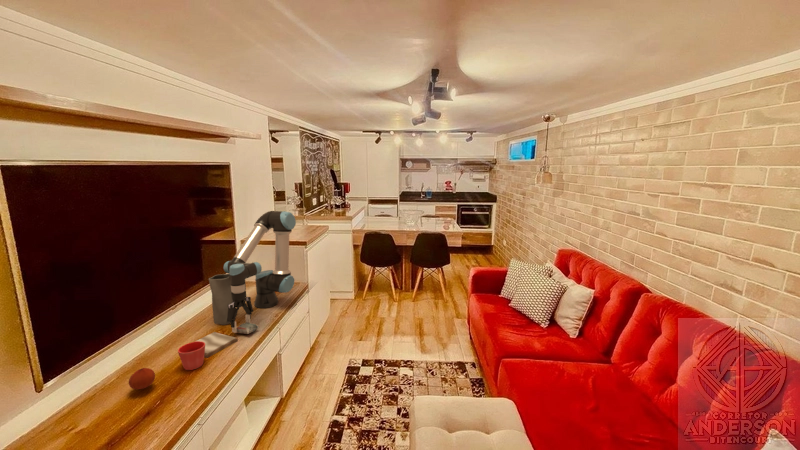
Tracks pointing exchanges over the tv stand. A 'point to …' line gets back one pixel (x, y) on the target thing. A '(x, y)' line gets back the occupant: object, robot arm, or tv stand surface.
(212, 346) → the stand
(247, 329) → the packaged food
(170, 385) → the tv stand surface
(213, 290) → the vase
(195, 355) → the flower pot
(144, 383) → the fruit
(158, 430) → the tv stand surface
